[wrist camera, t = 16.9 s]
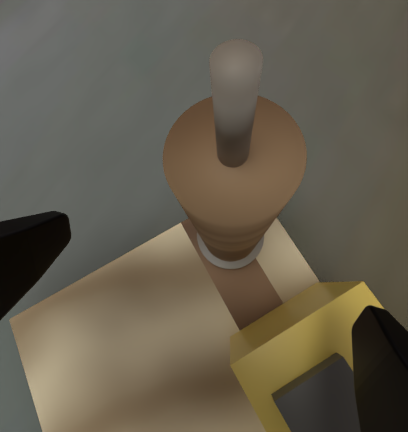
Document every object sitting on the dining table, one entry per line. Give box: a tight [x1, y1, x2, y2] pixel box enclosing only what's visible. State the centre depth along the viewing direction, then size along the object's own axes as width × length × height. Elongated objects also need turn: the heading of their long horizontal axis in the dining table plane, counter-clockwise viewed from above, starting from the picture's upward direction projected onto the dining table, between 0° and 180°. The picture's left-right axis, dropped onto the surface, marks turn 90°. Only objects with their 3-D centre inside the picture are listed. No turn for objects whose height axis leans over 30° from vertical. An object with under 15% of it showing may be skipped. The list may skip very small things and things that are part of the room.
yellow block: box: [230, 281, 384, 432], centre depth 11 cm, size 7×6×6 cm
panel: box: [9, 218, 319, 432], centre depth 15 cm, size 18×18×1 cm
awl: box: [163, 39, 307, 269], centre depth 10 cm, size 4×4×14 cm
